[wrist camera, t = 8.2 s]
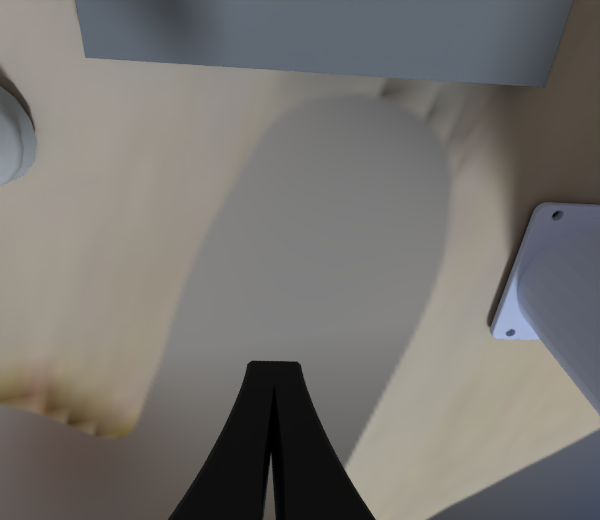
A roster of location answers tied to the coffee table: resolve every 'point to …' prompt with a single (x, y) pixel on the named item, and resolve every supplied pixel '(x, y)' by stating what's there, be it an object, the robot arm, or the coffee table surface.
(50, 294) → the coffee table surface
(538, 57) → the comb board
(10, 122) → the rook chess piece
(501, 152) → the coffee table surface
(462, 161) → the coffee table surface
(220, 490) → the robot arm
